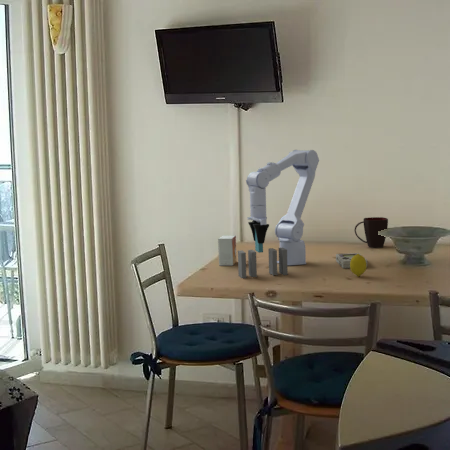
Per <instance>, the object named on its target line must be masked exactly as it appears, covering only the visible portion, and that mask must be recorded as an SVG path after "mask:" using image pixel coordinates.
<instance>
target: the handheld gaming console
mask: <svg viewBox="0 0 450 450" xmlns="http://www.w3.org/2000/svg"><path fill="white" fill-rule="evenodd" d="M357 254H360V255H362V254H361V253H359V252H357V253H355V252H354V253H353V252H352V253H350V252H349V253H336V254H335V261H336V263H337V264H338V265H339V266H340V267H341V268H342V269H343V270H344V269H350V262H351V259H352V257H353V256H355V255H357ZM364 258H365V260H366V268H367V267H368V259H367V258H366V257H364Z"/></svg>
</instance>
